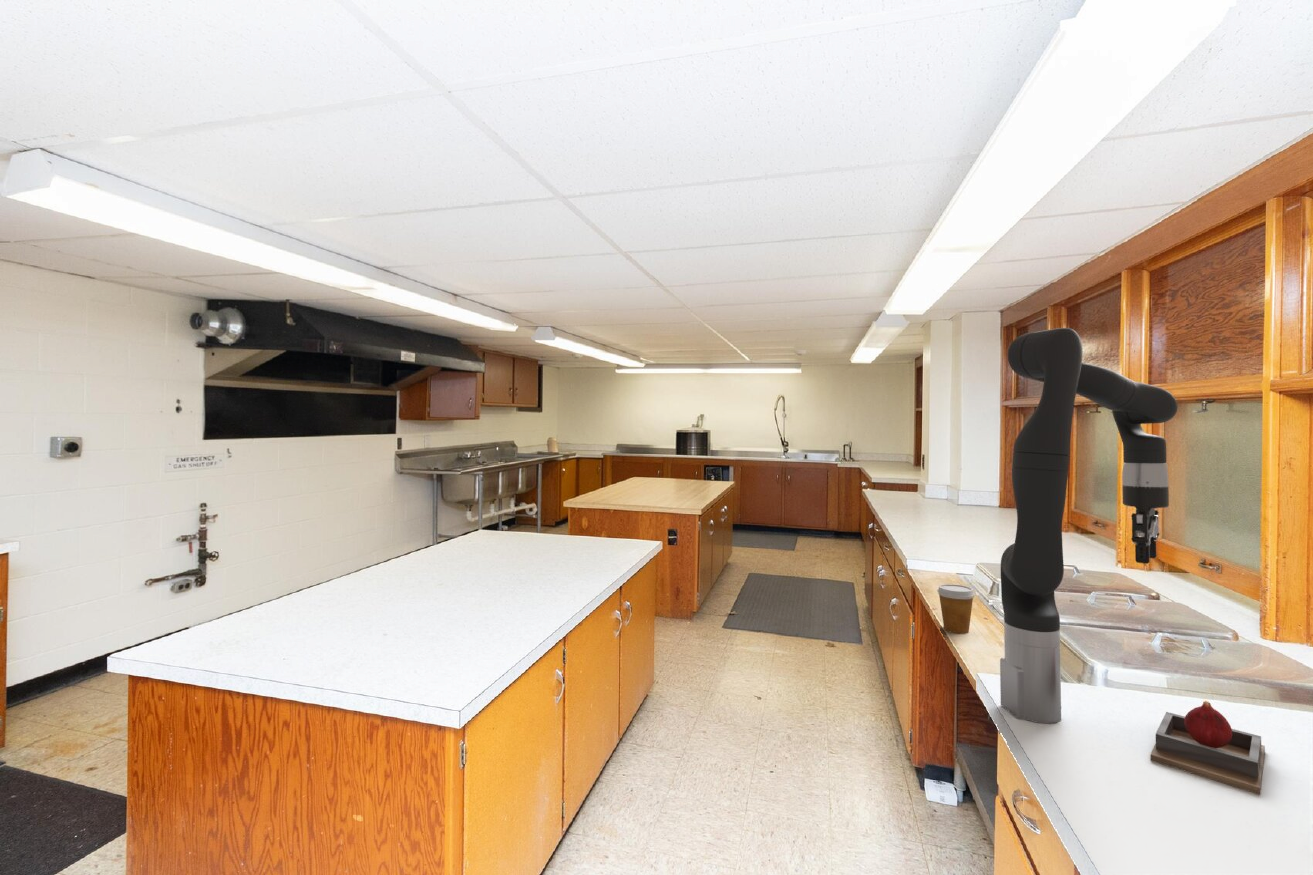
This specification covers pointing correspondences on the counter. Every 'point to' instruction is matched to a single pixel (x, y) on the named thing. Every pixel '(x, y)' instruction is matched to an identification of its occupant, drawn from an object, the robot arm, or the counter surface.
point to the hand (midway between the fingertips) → (1146, 560)
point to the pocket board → (1211, 755)
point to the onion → (1208, 726)
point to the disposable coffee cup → (956, 607)
